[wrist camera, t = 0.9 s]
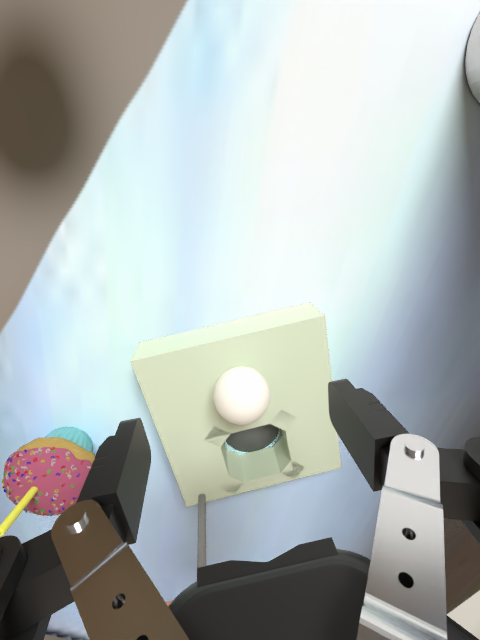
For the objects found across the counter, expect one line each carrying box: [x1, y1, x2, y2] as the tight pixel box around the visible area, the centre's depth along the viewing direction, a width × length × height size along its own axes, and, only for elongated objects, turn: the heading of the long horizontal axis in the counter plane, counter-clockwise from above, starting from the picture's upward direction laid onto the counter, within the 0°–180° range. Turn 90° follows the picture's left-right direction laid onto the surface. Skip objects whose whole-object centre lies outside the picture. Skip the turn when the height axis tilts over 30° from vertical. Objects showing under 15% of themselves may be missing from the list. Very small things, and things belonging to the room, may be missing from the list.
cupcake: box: [0, 427, 95, 536], centre depth 29 cm, size 9×8×12 cm
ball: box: [213, 366, 270, 425], centre depth 27 cm, size 5×5×5 cm
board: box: [130, 302, 341, 606], centre depth 27 cm, size 20×19×16 cm
